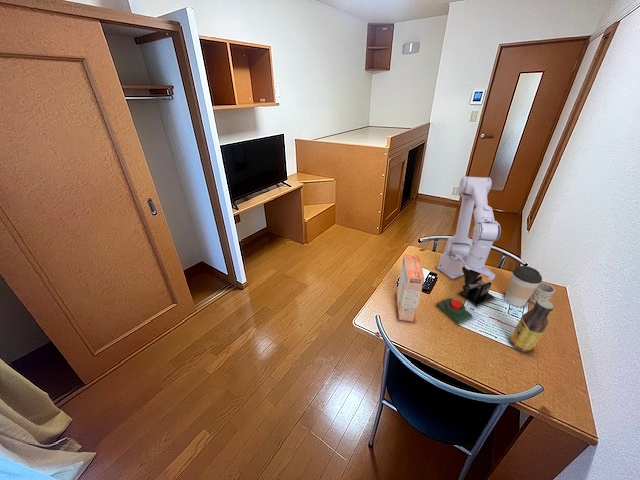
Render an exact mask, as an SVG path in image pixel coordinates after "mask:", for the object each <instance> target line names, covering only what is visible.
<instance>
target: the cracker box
mask: <svg viewBox="0 0 640 480" xmlns="http://www.w3.org/2000/svg"><path fill="white" fill-rule="evenodd" d="M423 270H424V269H423V266H422V262H421V257H420V255H418V254H417V255H415V254H406V253H403V258H402V263H401V269H400V274H399V279H398V285H397V290H396V306H397V318H398V320H399V321H406V322H412V323H414V321H415V318H416V314H417V311H418V307H419V302H420V299H421V295H422V290H423V286H424V283H425V275H424V271H423Z"/></svg>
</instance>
